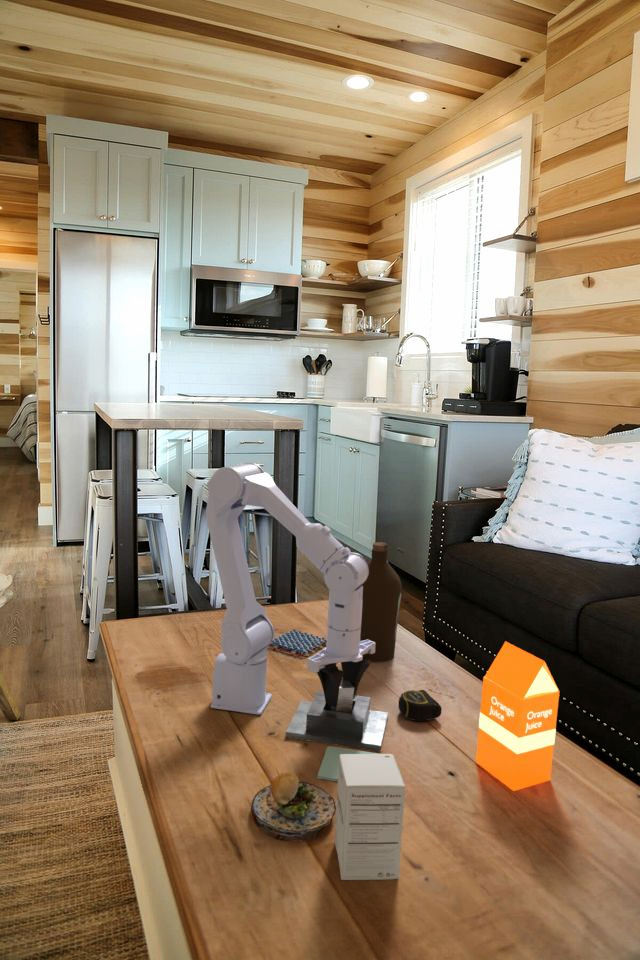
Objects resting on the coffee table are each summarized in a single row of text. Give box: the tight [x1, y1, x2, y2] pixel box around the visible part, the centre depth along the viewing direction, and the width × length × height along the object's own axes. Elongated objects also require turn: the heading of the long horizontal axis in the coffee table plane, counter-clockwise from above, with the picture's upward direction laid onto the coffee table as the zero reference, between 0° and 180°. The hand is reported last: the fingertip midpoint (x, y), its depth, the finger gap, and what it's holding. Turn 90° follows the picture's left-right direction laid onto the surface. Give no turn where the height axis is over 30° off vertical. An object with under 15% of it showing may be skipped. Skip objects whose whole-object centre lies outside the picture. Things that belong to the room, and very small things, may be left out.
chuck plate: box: [285, 689, 389, 752], centre depth 123 cm, size 16×12×4 cm
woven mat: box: [268, 629, 327, 659], centre depth 159 cm, size 10×11×2 cm
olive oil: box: [359, 541, 403, 663], centre depth 155 cm, size 11×11×25 cm
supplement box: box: [334, 753, 406, 881], centre depth 88 cm, size 7×7×13 cm
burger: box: [250, 768, 336, 842], centre depth 98 cm, size 12×12×8 cm
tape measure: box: [398, 689, 443, 722], centre depth 129 cm, size 7×7×4 cm
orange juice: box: [475, 641, 560, 792], centre depth 110 cm, size 8×9×20 cm
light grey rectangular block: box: [330, 680, 354, 714], centre depth 122 cm, size 3×3×7 cm
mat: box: [316, 745, 379, 782], centre depth 111 cm, size 9×9×1 cm
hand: (339, 700), depth 122 cm, fingers closed on light grey rectangular block, 4 cm apart
